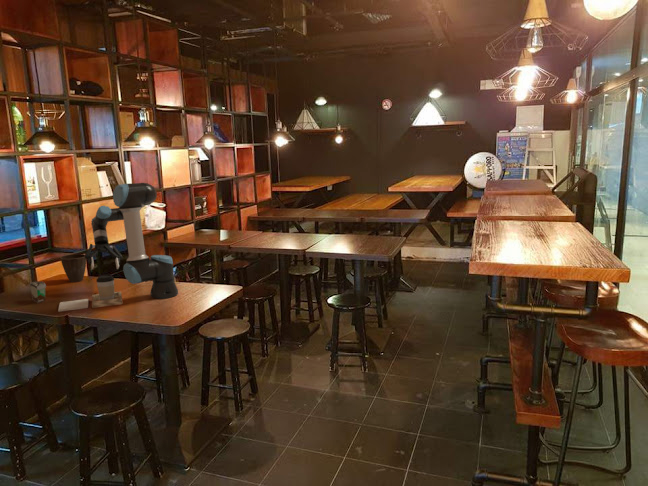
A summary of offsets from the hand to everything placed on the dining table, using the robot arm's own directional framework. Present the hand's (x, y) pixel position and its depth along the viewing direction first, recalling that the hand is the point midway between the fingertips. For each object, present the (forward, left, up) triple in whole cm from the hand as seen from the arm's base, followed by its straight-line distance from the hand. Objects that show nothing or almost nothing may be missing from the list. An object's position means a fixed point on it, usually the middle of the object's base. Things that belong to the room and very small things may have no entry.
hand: (105, 267), depth 284 cm
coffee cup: (-8, +13, -16) cm, 22 cm away
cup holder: (-8, +13, -16) cm, 22 cm away
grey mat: (+6, +22, -16) cm, 28 cm away
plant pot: (+39, -24, -16) cm, 49 cm away
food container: (+31, +16, -16) cm, 38 cm away
